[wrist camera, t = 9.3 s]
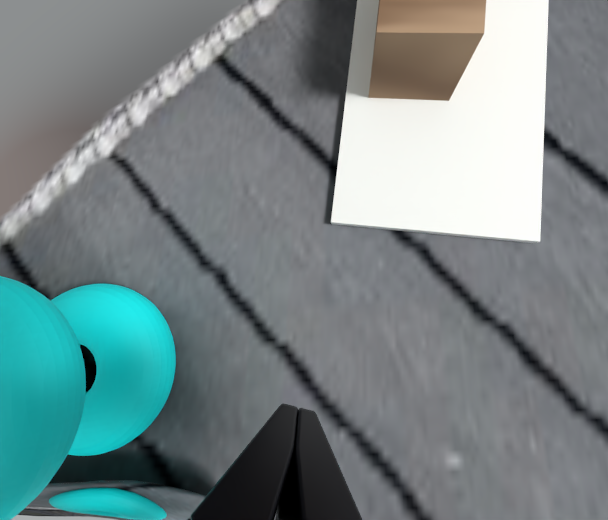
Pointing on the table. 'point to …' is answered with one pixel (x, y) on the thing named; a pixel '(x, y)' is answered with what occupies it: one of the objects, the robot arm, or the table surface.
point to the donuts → (74, 379)
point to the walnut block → (424, 47)
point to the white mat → (450, 137)
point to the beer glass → (111, 502)
